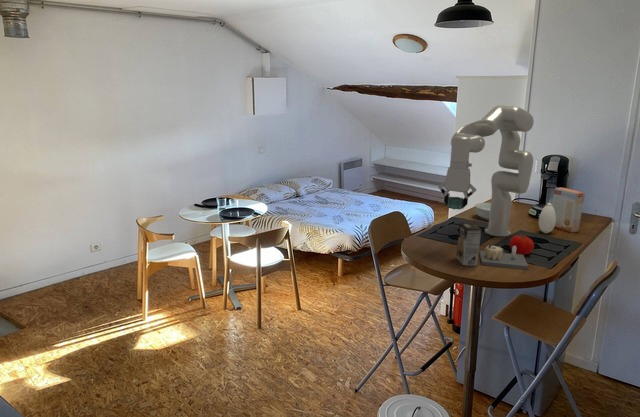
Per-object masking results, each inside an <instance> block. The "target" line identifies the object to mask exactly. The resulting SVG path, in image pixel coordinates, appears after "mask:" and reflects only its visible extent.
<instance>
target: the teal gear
mask: <svg viewBox="0 0 640 417" xmlns="http://www.w3.org/2000/svg"><path fill="white" fill-rule="evenodd" d="M464 198H465V197H459V196H449V197H448V201H447V205H446V207H447V208H448V209H452V210H462V209H465V207H463V202H464Z"/></svg>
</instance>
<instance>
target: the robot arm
mask: <svg viewBox="0 0 640 417" xmlns="http://www.w3.org/2000/svg"><path fill="white" fill-rule="evenodd" d="M533 126H534V116H533V115H532V114H531V113H530V112H528V111H527V110H525V109H523V108H522V107H519V106H513V105H496V106H494V107H493V108H492V109H491V110H490V111H488V112H487V114H485V115H484V117H482V118H481V119H479V120H477V121H473V122H471V123H468V124H465V125H464V126H462V127H460V128H459V129H458V130H457V131H455V133H454V134H453V135H452V137H451V140H450V145H451V148H450V149H451V150H450V151H451V152H450V159H449V160H450V161H449V162H450V163H449V167H447V169H446V170H447V171H446V175H445V181H443V182H442V183H440V184H438V186H437V187H438V190H440V192H441V193H442V194H443V196H444V197H443V198H444V199H443V203H444V205H445V206H447V201H448V197H450V196H449V193H450V192H456V193H457V192H458V193H463V196H464V197H463V198H464V202H463V207H464V208H465V207H466V206H467V205H468V201H469V200H468V199H469V198H470V197H471V196H472V195H473V194H474V193H476V192H477V188H476V187H475V186H474V185H473V184H471V169H470V168H469V167H472V165H473V163H470V160H469V159H470V153H473V154H475V153H476V154H477V153H479V152H482V151H483V149H484V148H485V146H486V140H485V137H490V136H493V135H494V134H495V133H497V131H498V130H499V133H500V135H501V144H500V150H499V155H498V162H497V163H498V165H499V167H500V168H503V169H506V171H505V170H498V171H496V172H494V173H492V176H491V181H490V182H491V197H490V198H491V199H490V203H491V207H490V216H489V220H488V226H487V227H485V228H484V233H485V234H486V235H490V236H494V237H501V238H504V237H510V236H511V235H512V232H511V230H509V226H510V217H511V209H512V208H511V207H512V199H513V198H512V196H511V194H510V193H514V194H520V195H521V194H522V195H523V194H525V193H526V192H527V191H528V189H529V187H530V182H531V176H532V171H533V166H534V157H533V154H532V153H531V152H530V151H526V150H520V146H521V136H520V134H519V132H521V133H525V132H529V131H531V130H532V129H533ZM507 170H514V171H518V172H513V171H507ZM443 186H444V187H443ZM469 190H471V191H470V192H469Z"/></svg>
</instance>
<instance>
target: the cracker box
mask: <svg viewBox="0 0 640 417" xmlns="http://www.w3.org/2000/svg"><path fill="white" fill-rule="evenodd" d="M553 192H554V194H553V200H552V206H553V208H554V210H555V214H556V223H555V226H554V228H556V229H559V230H562V231H565V232H567V233H579V230H580V224H581V218H582V212H583V205H584V199H585V192H583V191H579V190H576V189H575V190H574V189H570V188H566V187H560V186H559V187H554V191H553Z"/></svg>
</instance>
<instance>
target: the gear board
mask: <svg viewBox="0 0 640 417" xmlns="http://www.w3.org/2000/svg"><path fill="white" fill-rule="evenodd" d="M484 249H485V250H479V258H480V263H481V265H482V266H488V267H500V268H507V269H508V268H509V269H520V270H528V269H529V264H528V263H527V261H526V259H525V255H521V254H516V246H513V247H512V250H511V252H510V253H507V252H504V248H502V247H501V246H496V245H492V243H488V245H487V246H485V247H484Z"/></svg>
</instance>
